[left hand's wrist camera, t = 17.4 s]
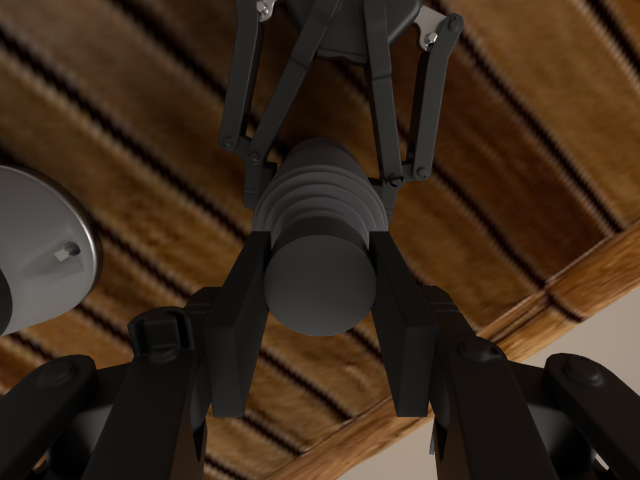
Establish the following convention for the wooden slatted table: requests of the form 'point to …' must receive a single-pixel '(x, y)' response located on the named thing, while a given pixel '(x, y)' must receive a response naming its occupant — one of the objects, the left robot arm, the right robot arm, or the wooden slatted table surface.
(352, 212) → the bottle
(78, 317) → the wooden slatted table surface
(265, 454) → the wooden slatted table surface
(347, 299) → the cap
